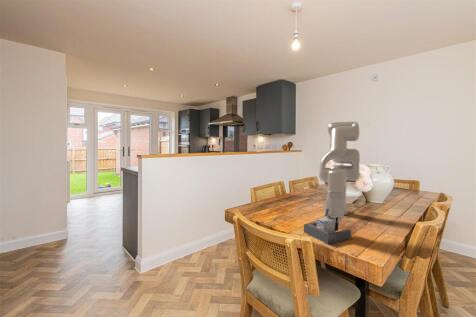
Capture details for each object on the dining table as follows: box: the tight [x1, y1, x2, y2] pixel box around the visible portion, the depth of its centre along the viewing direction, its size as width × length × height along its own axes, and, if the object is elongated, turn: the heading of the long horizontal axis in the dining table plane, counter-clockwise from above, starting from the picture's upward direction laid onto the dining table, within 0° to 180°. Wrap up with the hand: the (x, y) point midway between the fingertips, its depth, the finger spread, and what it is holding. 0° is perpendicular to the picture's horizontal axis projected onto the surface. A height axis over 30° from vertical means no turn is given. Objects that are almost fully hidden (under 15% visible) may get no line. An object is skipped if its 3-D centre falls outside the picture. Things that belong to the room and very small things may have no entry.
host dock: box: [303, 221, 352, 245], centre depth 113 cm, size 15×16×5 cm
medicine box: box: [316, 217, 336, 234], centre depth 111 cm, size 8×4×9 cm, turn 115°
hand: (334, 230), depth 115 cm, fingers closed
